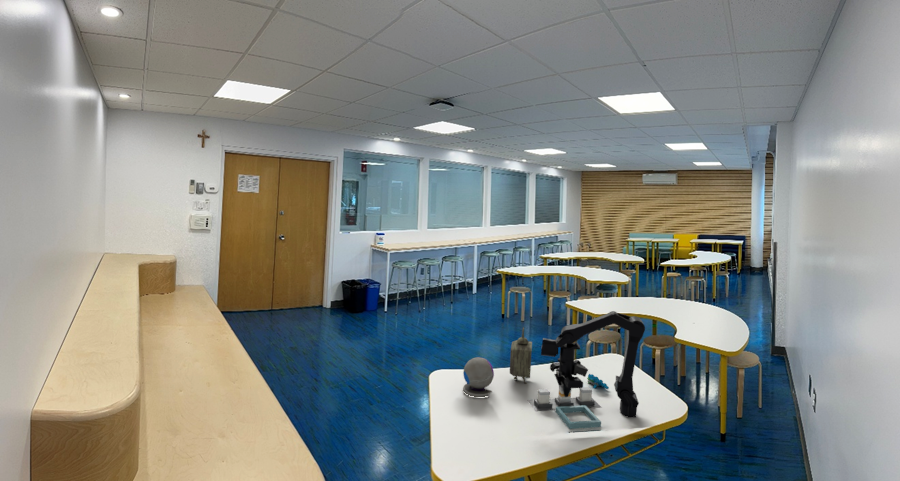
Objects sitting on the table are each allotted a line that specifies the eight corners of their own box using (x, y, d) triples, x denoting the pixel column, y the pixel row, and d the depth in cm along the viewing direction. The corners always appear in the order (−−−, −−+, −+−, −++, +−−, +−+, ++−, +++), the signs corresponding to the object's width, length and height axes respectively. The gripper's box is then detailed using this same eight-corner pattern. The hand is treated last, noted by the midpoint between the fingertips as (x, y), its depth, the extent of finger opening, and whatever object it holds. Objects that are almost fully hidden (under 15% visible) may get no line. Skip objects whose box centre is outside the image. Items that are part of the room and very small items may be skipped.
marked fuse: (570, 401, 178) (571, 387, 177) (560, 402, 177) (561, 388, 176) (567, 398, 180) (568, 384, 179) (558, 399, 179) (559, 385, 179)
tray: (600, 430, 162) (601, 421, 162) (568, 432, 160) (569, 423, 160) (584, 413, 174) (585, 405, 174) (555, 415, 172) (555, 406, 172)
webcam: (497, 396, 186) (499, 362, 185) (470, 400, 182) (471, 366, 180) (484, 383, 198) (485, 351, 197) (458, 387, 194) (459, 354, 192)
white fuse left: (549, 406, 176) (550, 391, 175) (539, 406, 175) (540, 392, 175) (546, 402, 179) (547, 388, 178) (537, 403, 178) (537, 389, 177)
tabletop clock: (529, 388, 195) (532, 333, 192) (508, 386, 196) (511, 331, 194) (530, 375, 209) (533, 324, 206) (511, 373, 211) (513, 322, 208)
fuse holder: (601, 410, 177) (602, 403, 176) (535, 414, 172) (535, 407, 172) (590, 400, 186) (591, 393, 185) (527, 403, 181) (527, 396, 181)
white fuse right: (591, 403, 179) (592, 389, 178) (581, 404, 178) (582, 390, 178) (588, 400, 182) (589, 386, 181) (578, 401, 181) (579, 387, 180)
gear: (614, 390, 192) (600, 376, 190) (606, 401, 190) (593, 387, 188) (596, 383, 202) (583, 369, 200) (589, 393, 201) (576, 380, 198)
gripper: (597, 366, 169) (594, 405, 170) (575, 348, 187) (573, 384, 189) (569, 367, 167) (567, 406, 169) (550, 349, 185) (548, 385, 187)
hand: (564, 395), depth 178 cm, fingers closed on marked fuse, 3 cm apart
